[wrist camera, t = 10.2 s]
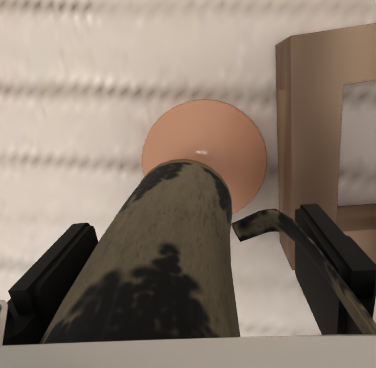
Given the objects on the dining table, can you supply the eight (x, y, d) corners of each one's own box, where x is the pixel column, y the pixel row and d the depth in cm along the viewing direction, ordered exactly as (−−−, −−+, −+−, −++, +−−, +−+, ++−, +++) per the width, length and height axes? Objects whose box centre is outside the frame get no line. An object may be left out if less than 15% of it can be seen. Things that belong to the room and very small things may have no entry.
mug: (162, 260, 17) (73, 595, 6) (115, 186, 16) (-122, 443, 4) (285, 210, 15) (485, 547, 4) (244, 121, 14) (387, 275, 3)
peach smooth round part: (262, 91, 21) (264, 91, 20) (267, 212, 24) (268, 215, 23) (133, 108, 22) (131, 109, 21) (154, 221, 25) (153, 224, 25)
